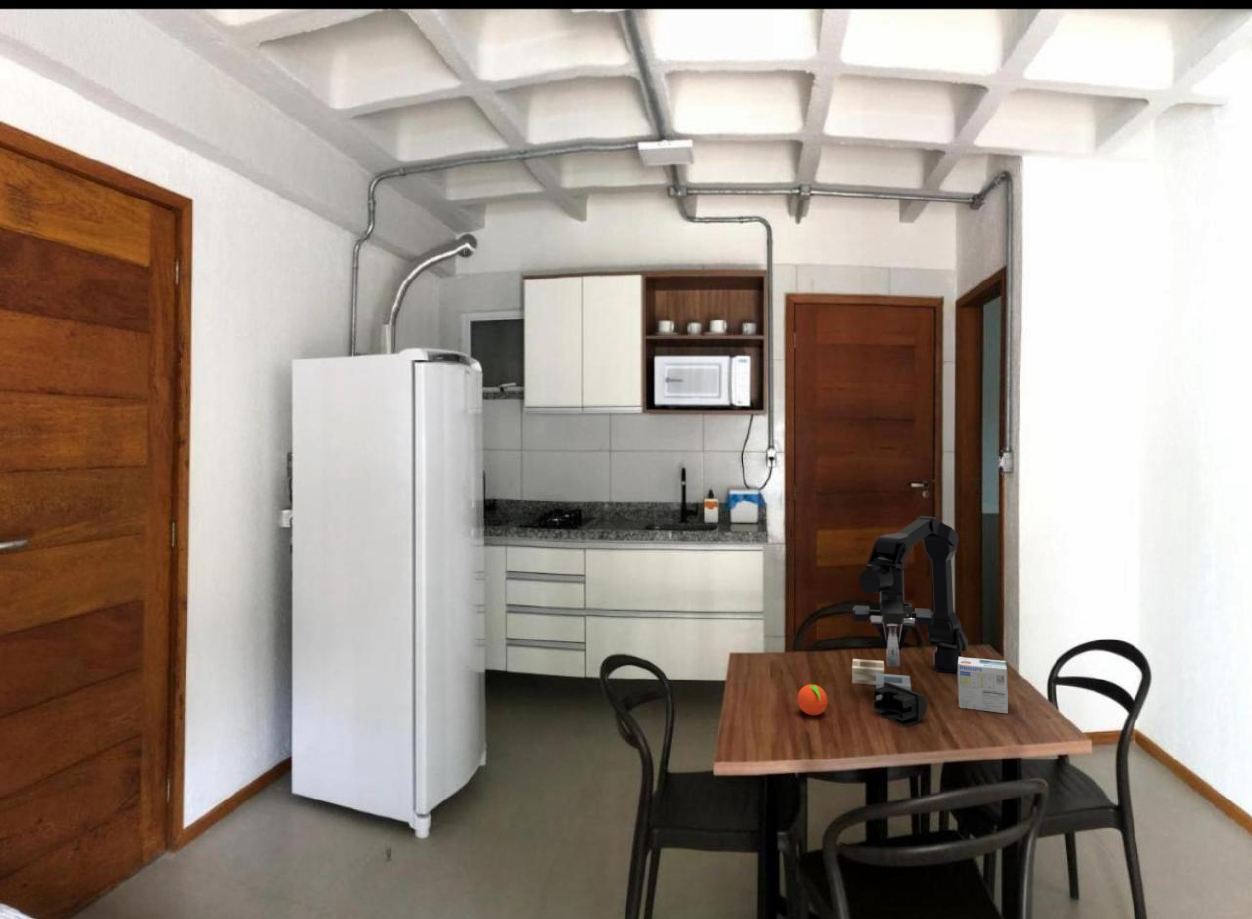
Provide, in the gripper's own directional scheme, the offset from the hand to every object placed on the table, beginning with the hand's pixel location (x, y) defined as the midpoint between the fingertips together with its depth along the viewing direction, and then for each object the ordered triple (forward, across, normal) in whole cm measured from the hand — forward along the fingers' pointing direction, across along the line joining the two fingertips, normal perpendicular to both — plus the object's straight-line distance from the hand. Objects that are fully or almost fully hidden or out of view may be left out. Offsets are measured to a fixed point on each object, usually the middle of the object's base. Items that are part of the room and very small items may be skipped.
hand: (892, 649), depth 181 cm
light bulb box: (+12, +20, -2) cm, 23 cm away
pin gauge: (+4, 0, 0) cm, 4 cm away
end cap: (+12, +1, -14) cm, 19 cm away
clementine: (+12, -18, -18) cm, 28 cm away
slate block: (+12, 0, 0) cm, 12 cm away
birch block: (+12, -6, +11) cm, 17 cm away
